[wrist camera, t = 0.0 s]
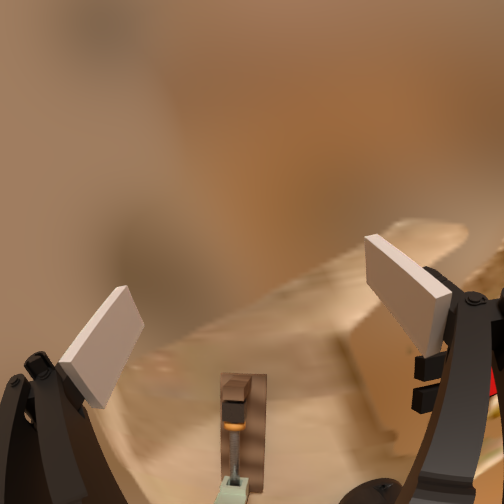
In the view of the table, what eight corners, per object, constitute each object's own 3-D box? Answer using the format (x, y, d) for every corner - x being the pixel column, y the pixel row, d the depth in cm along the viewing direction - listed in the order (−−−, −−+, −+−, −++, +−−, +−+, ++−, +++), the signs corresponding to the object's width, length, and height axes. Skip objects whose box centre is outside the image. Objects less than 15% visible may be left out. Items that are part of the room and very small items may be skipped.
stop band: (246, 424, 36) (243, 431, 33) (226, 423, 37) (221, 430, 34) (246, 419, 37) (243, 426, 34) (226, 417, 37) (221, 424, 34)
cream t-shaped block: (249, 494, 33) (241, 525, 24) (224, 491, 33) (211, 521, 24) (249, 477, 34) (241, 508, 25) (223, 475, 34) (210, 504, 25)
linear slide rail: (263, 488, 39) (257, 520, 28) (223, 485, 40) (210, 515, 29) (266, 374, 46) (261, 388, 35) (222, 372, 47) (205, 385, 36)
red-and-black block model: (431, 347, 36) (518, 326, 33) (410, 345, 44) (495, 328, 41) (424, 427, 32) (513, 393, 30) (406, 415, 40) (492, 389, 38)
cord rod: (245, 506, 32) (243, 515, 29) (227, 504, 32) (223, 513, 29) (247, 389, 38) (244, 394, 35) (226, 388, 38) (221, 393, 35)
